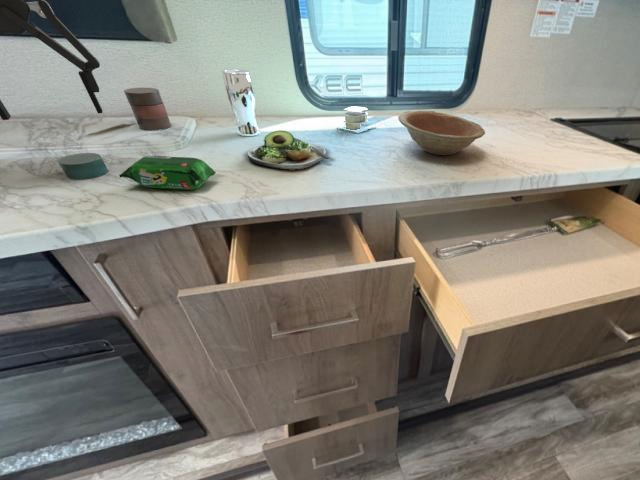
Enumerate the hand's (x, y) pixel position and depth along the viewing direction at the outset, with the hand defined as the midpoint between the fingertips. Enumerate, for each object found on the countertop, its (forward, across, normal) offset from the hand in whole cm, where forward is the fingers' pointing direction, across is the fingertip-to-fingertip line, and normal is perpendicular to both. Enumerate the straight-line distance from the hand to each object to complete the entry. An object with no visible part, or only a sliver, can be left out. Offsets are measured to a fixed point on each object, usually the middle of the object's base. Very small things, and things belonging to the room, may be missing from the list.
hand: (56, 115), depth 63 cm
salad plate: (+11, +40, -8) cm, 42 cm away
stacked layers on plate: (+11, +69, +10) cm, 71 cm away
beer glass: (+11, +37, +16) cm, 42 cm away
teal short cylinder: (+11, 0, 0) cm, 11 cm away
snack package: (+11, +14, -14) cm, 23 cm away
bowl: (+12, +80, -19) cm, 83 cm away
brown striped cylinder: (+11, +15, +33) cm, 38 cm away
